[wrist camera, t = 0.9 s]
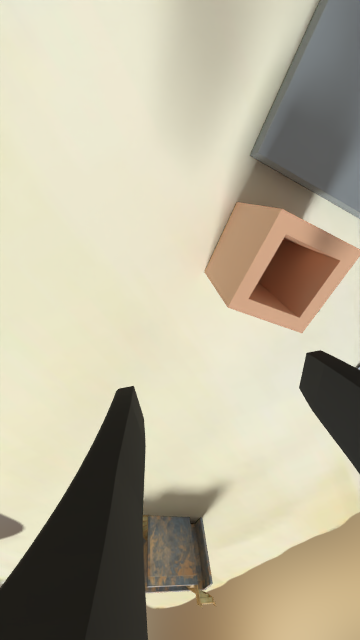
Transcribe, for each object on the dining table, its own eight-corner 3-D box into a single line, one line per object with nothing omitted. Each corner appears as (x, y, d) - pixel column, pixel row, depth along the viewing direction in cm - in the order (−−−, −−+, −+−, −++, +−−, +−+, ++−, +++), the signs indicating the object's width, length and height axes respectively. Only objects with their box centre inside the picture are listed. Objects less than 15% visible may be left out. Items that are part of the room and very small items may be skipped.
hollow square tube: (296, 231, 17) (363, 251, 11) (259, 292, 19) (301, 333, 13) (236, 201, 15) (281, 208, 10) (204, 271, 17) (227, 307, 12)
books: (202, 513, 38) (217, 606, 29) (195, 522, 39) (208, 613, 31) (134, 509, 35) (129, 612, 26) (129, 519, 36) (122, 620, 28)
